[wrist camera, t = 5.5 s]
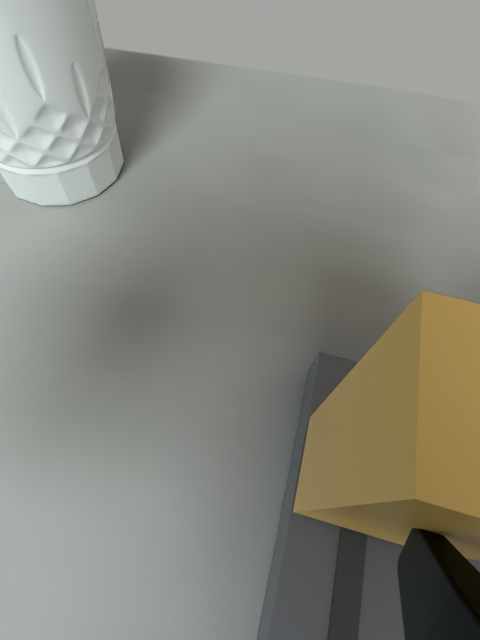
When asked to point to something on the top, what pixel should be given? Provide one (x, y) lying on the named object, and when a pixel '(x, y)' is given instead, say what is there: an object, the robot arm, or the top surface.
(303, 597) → the grey slotted board
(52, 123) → the white cup
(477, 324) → the amber slider
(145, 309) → the top surface
